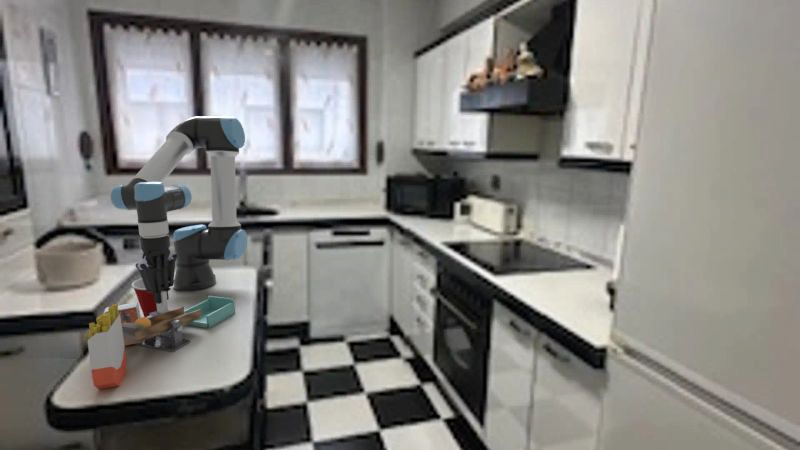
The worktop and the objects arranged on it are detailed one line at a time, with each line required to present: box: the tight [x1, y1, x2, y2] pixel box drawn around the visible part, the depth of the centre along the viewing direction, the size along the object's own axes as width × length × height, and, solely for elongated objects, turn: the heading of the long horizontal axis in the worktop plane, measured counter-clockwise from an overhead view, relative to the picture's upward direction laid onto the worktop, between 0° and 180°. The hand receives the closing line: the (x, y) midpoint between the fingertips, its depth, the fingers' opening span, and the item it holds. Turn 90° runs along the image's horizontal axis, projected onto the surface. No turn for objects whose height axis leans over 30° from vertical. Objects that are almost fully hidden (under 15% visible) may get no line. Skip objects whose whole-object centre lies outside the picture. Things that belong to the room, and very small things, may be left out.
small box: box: [102, 301, 143, 346], centre depth 122 cm, size 8×6×10 cm
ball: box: [134, 316, 151, 329], centre depth 116 cm, size 4×4×4 cm
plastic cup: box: [131, 278, 157, 317], centre depth 140 cm, size 11×11×12 cm
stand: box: [136, 316, 191, 353], centre depth 122 cm, size 6×13×7 cm, turn 72°
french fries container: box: [87, 303, 127, 390], centre depth 102 cm, size 5×11×18 cm, turn 20°
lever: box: [122, 306, 202, 345], centre depth 123 cm, size 22×15×4 cm
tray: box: [184, 295, 236, 329], centre depth 139 cm, size 12×10×5 cm
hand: (163, 312), depth 131 cm, fingers closed
